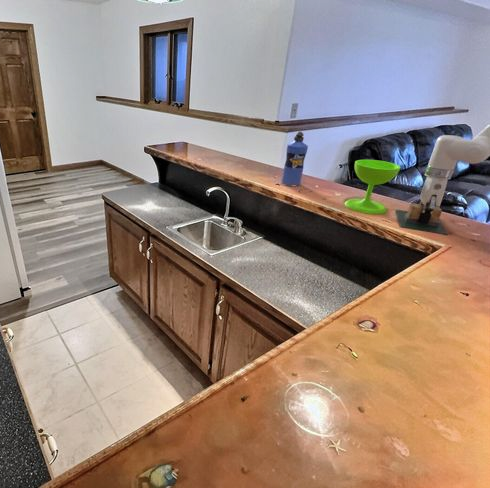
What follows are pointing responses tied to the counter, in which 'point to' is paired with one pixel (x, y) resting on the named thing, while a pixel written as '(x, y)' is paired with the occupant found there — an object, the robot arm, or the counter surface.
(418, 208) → the eraser
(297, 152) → the water bottle
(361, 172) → the wineglass
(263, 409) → the counter surface
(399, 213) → the chalkboard
